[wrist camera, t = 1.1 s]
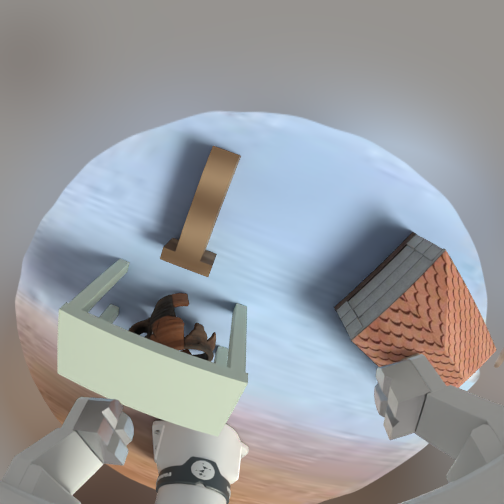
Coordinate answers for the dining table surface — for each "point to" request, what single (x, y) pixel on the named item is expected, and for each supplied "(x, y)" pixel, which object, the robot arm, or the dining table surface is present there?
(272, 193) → the dining table surface
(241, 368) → the footstool
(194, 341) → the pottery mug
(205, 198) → the push stick
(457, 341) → the model house
